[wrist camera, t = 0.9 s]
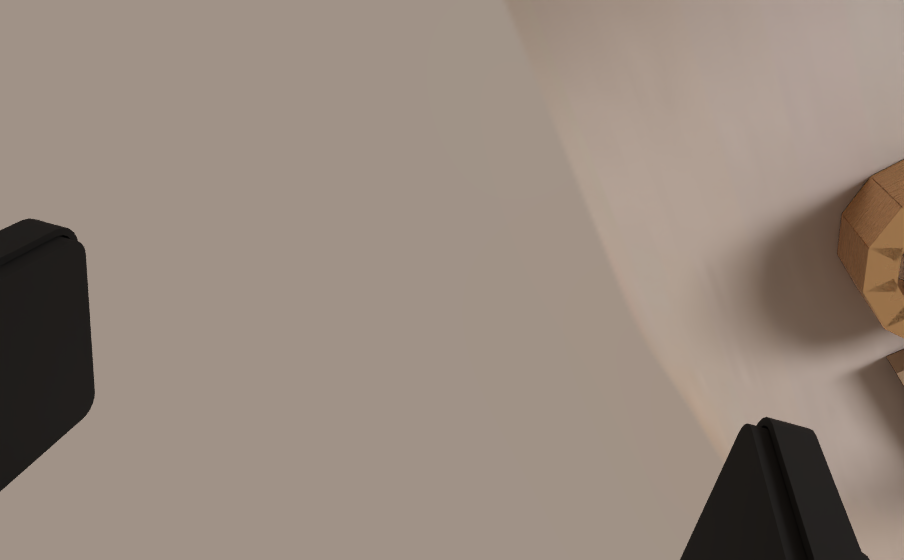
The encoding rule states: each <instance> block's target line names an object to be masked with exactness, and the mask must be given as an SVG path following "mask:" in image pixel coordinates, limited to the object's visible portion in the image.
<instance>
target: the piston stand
mask: <svg viewBox="0 0 904 560" xmlns="http://www.w3.org/2000/svg"><path fill="white" fill-rule="evenodd" d="M886 357H887V358H888V360H889V362H890V364H891V365H892V367H893V369H894V370H895V372H896V374H897V375H898V377H899V379H900V381H901V382H902V384H903V386H904V349H903V350H901V351H898V352H896V353H894V354H891V355H889V356H886Z"/></svg>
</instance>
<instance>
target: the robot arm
mask: <svg viewBox="0 0 904 560" xmlns="http://www.w3.org/2000/svg"><path fill="white" fill-rule="evenodd" d="M94 394H95V389H94V374H93V358H92V343H91V327H90V312H89V297H88V282H87V267H86V253H85V249H84V247H83V245H82V244H81V243H80V242H78V241H77V237H76V235H75V234H74V232H73V231H71V230H70V229H68V228H65V227H61V226H58V225H54V224H50V223H46V222H43V221H39V220H35V219H25V220H22V221H20V222H18V223H15V224H13V225H11V226H9V227H7V228H5V229H2V230H0V491H1V490H2V489H3V488H5V487H6V486H7V485H8V484H9V483H10V482H11V481H13V479H15V478H16V477H17V476H18V475H19V474H20V473H22V472H23V471H24V470H25V469H26V468H27V467H28V466H30V465H31V464H32V463H33V462H34V461H35V460H36V459H37V458H39V457H40V456H41V455H42V454H43V453H44V452H45V451H47V450H48V449H49V448H50V447H51V446H52V445H53V444H54V443H56V442H57V441H58V440H59V439H60V438H61V437H62V436H63V435H65V434H66V433H67V432H68V431H69V430H70V429H71V428H73V427H74V426H75V425H76V424H77V423H78V422H79V421H81V420H82V419H83V418H84V417H85V416H86V415H87V413H88V412H89V410H90V408H91V406H92V404H93V400H94ZM680 560H869V558H868V556H866V555H865V554H864V553H862V552H861V549H860V547H859V544H858V542H857V539H856V536H855V534H854V531H853V529H852V526H851V524H850V521H849V519H848V516H847V513H846V511H845V508H844V506H843V503H842V501H841V498H840V496H839V493H838V490H837V488H836V485H835V483H834V480H833V478H832V475H831V472H830V470H829V467H828V465H827V462H826V460H825V457H824V455H823V452H822V449H821V447H820V444H819V442H818V439H817V437H816V435H815V433H814V431H813V430H811V429H809V428H805V427H801V426H798V425H794V424H790V423H787V422H783V421H779V420H776V419H772V418H768V417H765V418H762V419H761V420H760V422H759V423H758V424H757V426H755V425H751V424H745V425H744V426H743V427H742V428H741V430H740V432H739V434H738V436H737V438H736V440H735V442H734V444H733V446H732V449H731V451H730V453H729V455H728V457H727V459H726V462H725V464H724V466H723V468H722V471H721V473H720V475H719V477H718V479H717V481H716V483H715V486H714V488H713V490H712V492H711V494H710V496H709V498H708V501H707V503H706V505H705V507H704V509H703V512H702V514H701V516H700V518H699V520H698V522H697V524H696V527H695V529H694V531H693V533H692V535H691V537H690V539H689V542H688V544H687V546H686V548H685V550H684V552H683V555H682V557H681V559H680Z"/></svg>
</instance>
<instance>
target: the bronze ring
mask: <svg viewBox="0 0 904 560" xmlns="http://www.w3.org/2000/svg"><path fill="white" fill-rule="evenodd" d="M903 253H904V160H902V161H900V162H898V163H896V164H894V165H892V166H890V167H888V168H886V169H884V170H882V171H880V172H878V173H876V174H874V175H873V176H871V177H870V178H869V179H868V181H867V182H866V183H865V184H864V186H863V187H862V188H861V190H860V191H859V192H858V193H857V195H856V196H855V197H854V199H853V200H852V201H851V203H850V204H849V205H848V206H847V208H846V209H845V210H844V212H843V213H842V216H841V225H840V234H839V243H838V251H837V254H838V256H839V258H840V260H841V261H842V263H843V265H844V266H845V268H846V270H847V272H848V273H849V275H850V277H851V278H852V280H853V282H854V284H855V285H856V287H857V288H858V290H859V291H860V293H861V294H862V296H863V297H864V299H865V300H866V302H867V304H868V305H869V307H870V308H871V310H872V311H873V313H874V314H875V316H876V317H877V319H878V320H879V322H880V323H881V325H882V326H883V328H884V329H886V330H888V331H890V332H892V333H894V334H896V335H898V336H900V337H902V338H904V281H903V280H901V279H899V278H898V276H899V270H900V263H901V257H902V254H903Z"/></svg>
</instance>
